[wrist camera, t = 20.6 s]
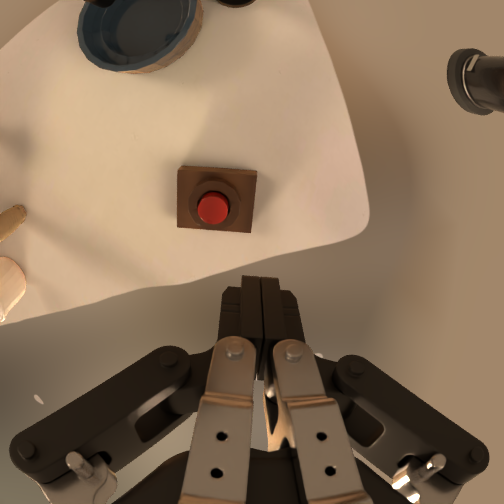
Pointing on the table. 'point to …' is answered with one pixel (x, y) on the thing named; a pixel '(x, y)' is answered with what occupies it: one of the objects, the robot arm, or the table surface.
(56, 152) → the table surface
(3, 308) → the cup
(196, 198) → the button block
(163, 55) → the basin
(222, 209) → the button
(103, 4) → the spout
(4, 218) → the handle
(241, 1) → the base
